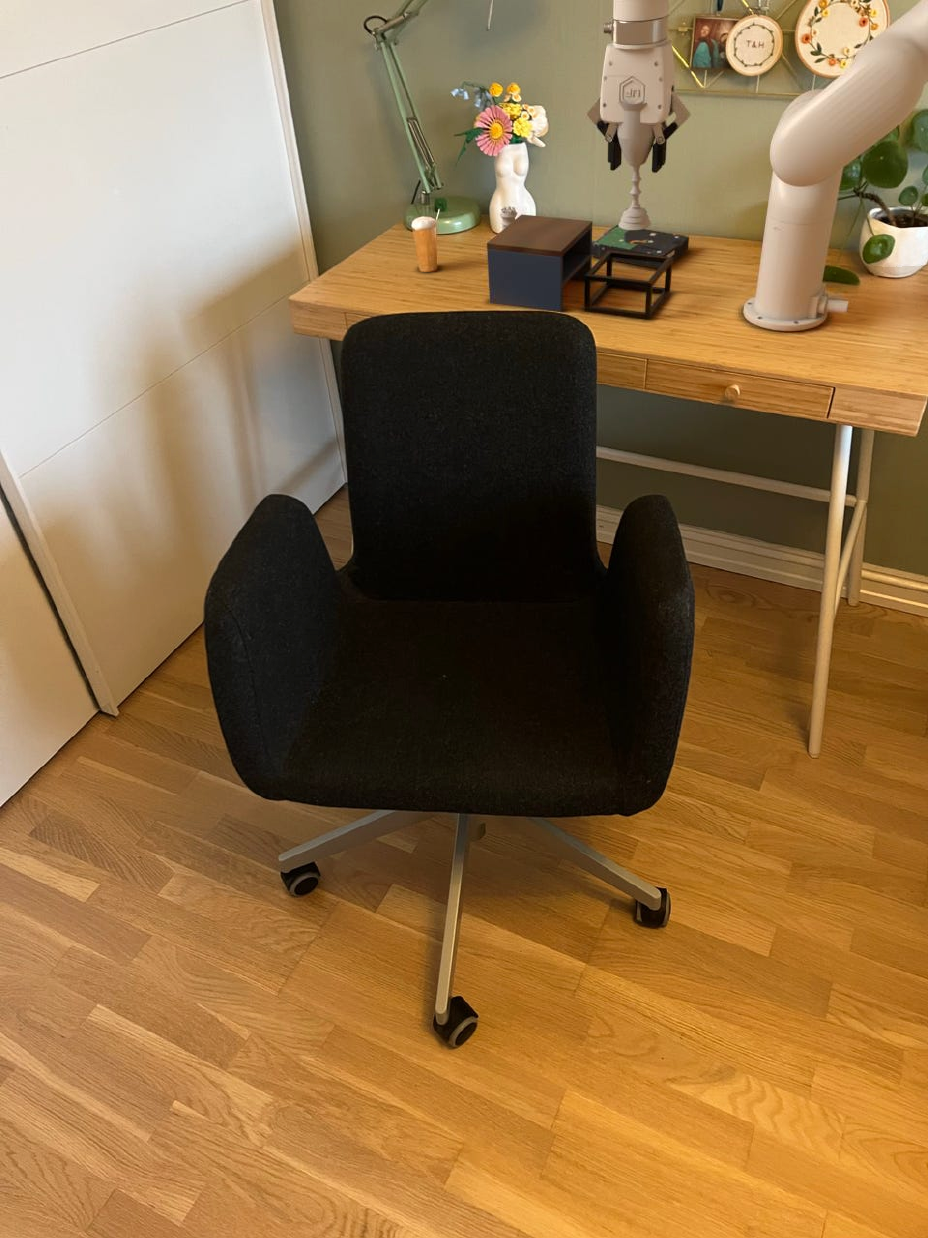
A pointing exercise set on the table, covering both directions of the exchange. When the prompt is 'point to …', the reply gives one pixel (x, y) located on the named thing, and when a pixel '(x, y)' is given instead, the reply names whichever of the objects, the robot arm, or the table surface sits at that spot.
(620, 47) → the robot arm
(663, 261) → the cup rack
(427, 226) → the milkshake
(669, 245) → the disk drive
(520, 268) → the shelf
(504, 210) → the rook chess piece
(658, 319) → the table surface
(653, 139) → the chalice
